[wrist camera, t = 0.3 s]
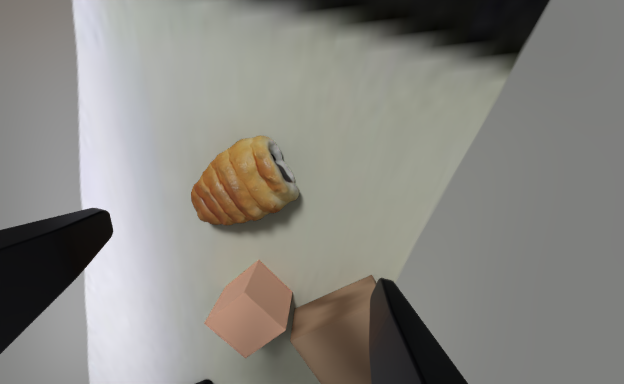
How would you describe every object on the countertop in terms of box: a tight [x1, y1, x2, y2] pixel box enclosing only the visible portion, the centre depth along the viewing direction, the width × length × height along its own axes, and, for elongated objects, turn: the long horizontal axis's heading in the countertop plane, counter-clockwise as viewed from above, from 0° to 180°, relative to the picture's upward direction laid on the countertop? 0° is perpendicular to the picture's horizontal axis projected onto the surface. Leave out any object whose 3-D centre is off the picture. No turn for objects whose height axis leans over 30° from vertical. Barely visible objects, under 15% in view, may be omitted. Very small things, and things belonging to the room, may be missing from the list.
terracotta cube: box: [204, 260, 292, 358], centre depth 24 cm, size 5×5×5 cm
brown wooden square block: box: [290, 275, 377, 384], centre depth 25 cm, size 9×9×4 cm
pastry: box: [191, 136, 299, 225], centre depth 21 cm, size 9×7×4 cm
